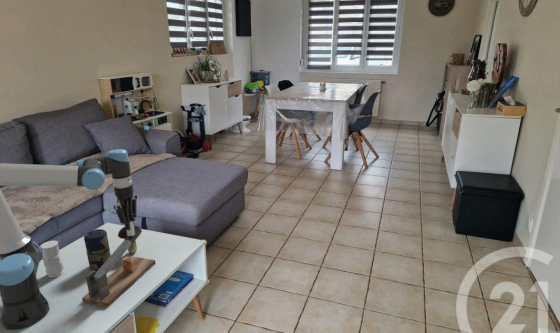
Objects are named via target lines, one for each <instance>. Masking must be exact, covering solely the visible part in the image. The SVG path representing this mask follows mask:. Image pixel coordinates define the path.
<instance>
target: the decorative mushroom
mask: <svg viewBox="0 0 560 333" xmlns="http://www.w3.org/2000/svg"><path fill="white" fill-rule="evenodd" d="M134 229H138V230H140V232H141V233H142V232H143V230H142V228H141V227H140V226H138V225H135V224H134ZM117 237H118V238H120V239H122V240H124V239H125V238H126V237H127V230H126V228H125V226H123V227H121V229H119V231H118V233H117ZM137 250H138V246H137V241H136V240H135V241H134V242H133V244H131V246H130V247H129V248H128V249H127V252H129V253H130V254H134V253H136V251H137Z"/></svg>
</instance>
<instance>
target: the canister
mask: <svg viewBox="0 0 560 333" xmlns="http://www.w3.org/2000/svg"><path fill="white" fill-rule="evenodd" d="M83 240H84V244H85V246H84V247H85V250H86V256H87V260H88V265H89V267H90V269H91V270H94V271H96V270H97V271H98V270H99V269H100V267H101V266H102V265H103V264H104V263H105V262H106V261H107V259H108V258H109V257H110V256H111V255H112V254H111V251H110V250H111V249H110V244H109V237H108V233H107V231H106V230H105V229H101V228H100V229H98V228H97V229H93V230H90V231H87V232H86V233H85V234H84V236H83Z"/></svg>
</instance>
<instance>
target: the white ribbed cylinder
mask: <svg viewBox="0 0 560 333" xmlns="http://www.w3.org/2000/svg"><path fill="white" fill-rule="evenodd" d="M39 247H40V250H41V254H42V261H43V265H44V267H45V271H46V272H45V273H46V274H47V276H48V278H51V279H53V278H57V277H60V276H62V274H64V264H63V258H62V253H61V252H60V249H59V248H60V247H59V241H58V240H50V241H49V240H48V241H46V242H44V243H42V244H40V246H39Z"/></svg>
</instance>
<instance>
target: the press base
mask: <svg viewBox="0 0 560 333" xmlns="http://www.w3.org/2000/svg"><path fill="white" fill-rule="evenodd" d="M121 264H122V265H121V266H120V267H119V268H117V269H115V271H113V272H112V273H111V274H110V275H108V276H107V274H106V273H105V272H103V273H102V274H101V275H99V276H98V277H97V278H96V280H97V281H92V280H91V277H92V276H93V275H94V274H95V273H96V272H97V271H96V270H94V269H92V270H91V271H90V272H88V273H87V274H86V275H85V279H86V284H87V285H86V286H87V289H88V290H87V291H88V292H87V293H86V294H85V295H84V296H83V297H81V300H82V303H85V304H89V305H94V306H99V307H105V308H109V307H110V306H111V305H112V304H113V303H115V301H117V300H118V299H119V298H120V297H121V296H122V295H123V294H124V293H126V291H128V290H129V289H130V288H131V287H132V286H133V285H134V284H135V283H136V282H137V281H138V280H139V279H140V278H142V277H143V276H144V275H145V274H146V273H147V272H148V271H150V269H151V268H153V267H154V266H155V265H156V260H155V259H153V258H152V259H151V258H143V257H140V256H125V257H124V258H122V259H121Z"/></svg>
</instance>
